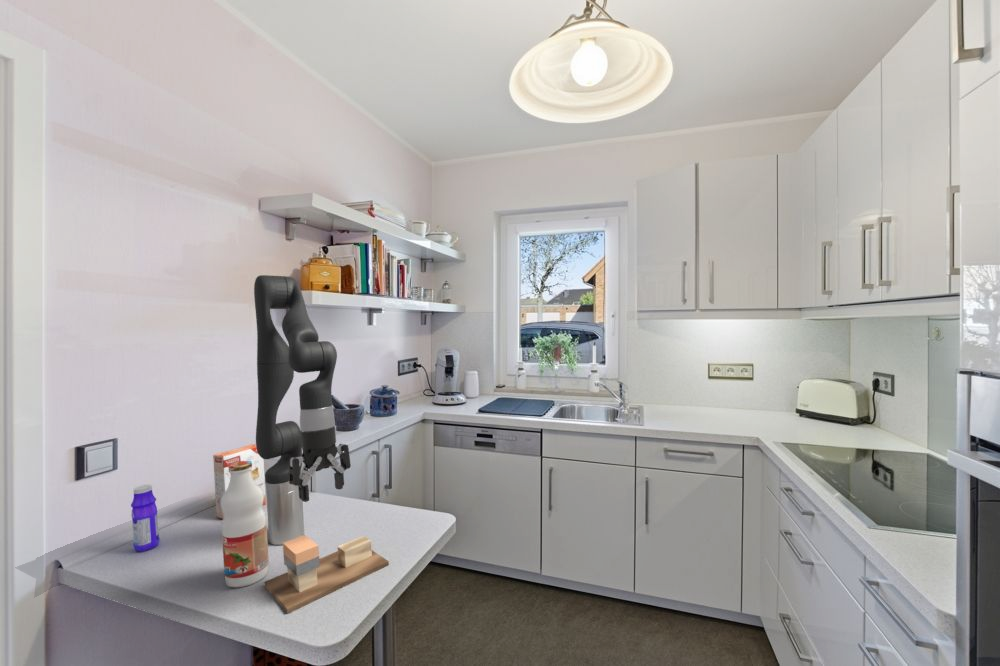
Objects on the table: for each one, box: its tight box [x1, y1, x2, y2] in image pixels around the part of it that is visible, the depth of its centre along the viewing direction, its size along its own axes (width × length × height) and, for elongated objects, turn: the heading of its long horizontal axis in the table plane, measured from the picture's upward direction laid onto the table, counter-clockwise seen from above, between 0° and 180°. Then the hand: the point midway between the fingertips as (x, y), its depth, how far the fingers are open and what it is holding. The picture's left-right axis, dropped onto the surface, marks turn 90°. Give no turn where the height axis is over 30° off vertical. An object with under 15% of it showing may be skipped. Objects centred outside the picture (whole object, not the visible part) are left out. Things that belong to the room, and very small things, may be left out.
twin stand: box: [263, 535, 390, 614], centre depth 106 cm, size 15×24×5 cm, turn 135°
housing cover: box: [282, 534, 320, 565], centre depth 102 cm, size 8×5×2 cm, turn 45°
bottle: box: [130, 484, 160, 553], centre depth 125 cm, size 7×6×17 cm
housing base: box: [283, 554, 320, 577], centre depth 102 cm, size 8×5×2 cm, turn 45°
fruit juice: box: [221, 461, 270, 588], centre depth 107 cm, size 9×9×28 cm
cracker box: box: [212, 443, 267, 520], centre depth 148 cm, size 14×6×21 cm, turn 153°
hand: (322, 494), depth 103 cm, fingers open, 8 cm apart
